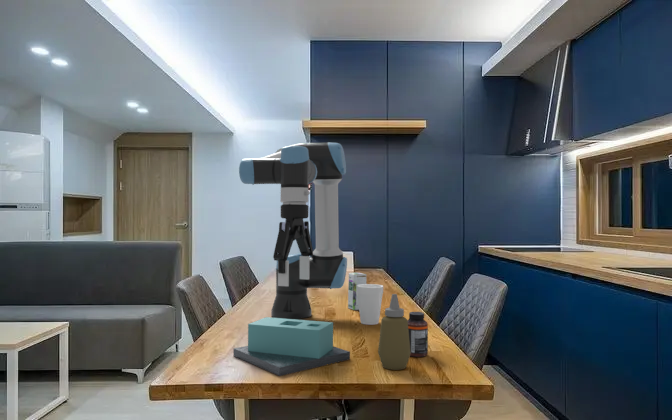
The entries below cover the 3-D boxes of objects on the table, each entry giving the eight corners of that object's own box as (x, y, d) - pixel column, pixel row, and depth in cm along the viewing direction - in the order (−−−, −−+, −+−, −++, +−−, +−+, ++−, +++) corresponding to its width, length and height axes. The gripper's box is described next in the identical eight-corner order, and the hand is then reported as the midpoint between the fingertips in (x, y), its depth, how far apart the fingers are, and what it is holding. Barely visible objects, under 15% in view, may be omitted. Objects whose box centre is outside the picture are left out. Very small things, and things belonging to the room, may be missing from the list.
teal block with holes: (248, 351, 131) (248, 324, 131) (266, 342, 140) (266, 317, 140) (319, 358, 124) (319, 330, 124) (332, 348, 134) (333, 322, 134)
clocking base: (233, 355, 133) (233, 325, 134) (300, 343, 148) (300, 315, 148) (279, 376, 117) (279, 341, 117) (350, 359, 131) (350, 328, 131)
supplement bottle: (404, 351, 139) (404, 310, 139) (426, 351, 138) (426, 310, 139) (406, 357, 133) (406, 314, 133) (429, 357, 132) (429, 315, 133)
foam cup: (381, 326, 171) (381, 288, 172) (354, 324, 173) (354, 287, 173) (384, 320, 181) (384, 284, 181) (358, 319, 182) (359, 283, 183)
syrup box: (347, 308, 205) (347, 272, 206) (360, 307, 208) (360, 272, 208) (353, 310, 200) (353, 274, 201) (366, 309, 203) (366, 273, 203)
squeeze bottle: (388, 373, 119) (388, 297, 119) (372, 364, 126) (372, 292, 127) (417, 369, 122) (417, 295, 122) (399, 361, 129) (400, 291, 130)
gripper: (287, 203, 122) (286, 290, 122) (324, 204, 146) (324, 277, 146) (259, 203, 125) (259, 288, 125) (300, 204, 148) (300, 276, 148)
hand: (294, 282), depth 135 cm, fingers open, 13 cm apart
